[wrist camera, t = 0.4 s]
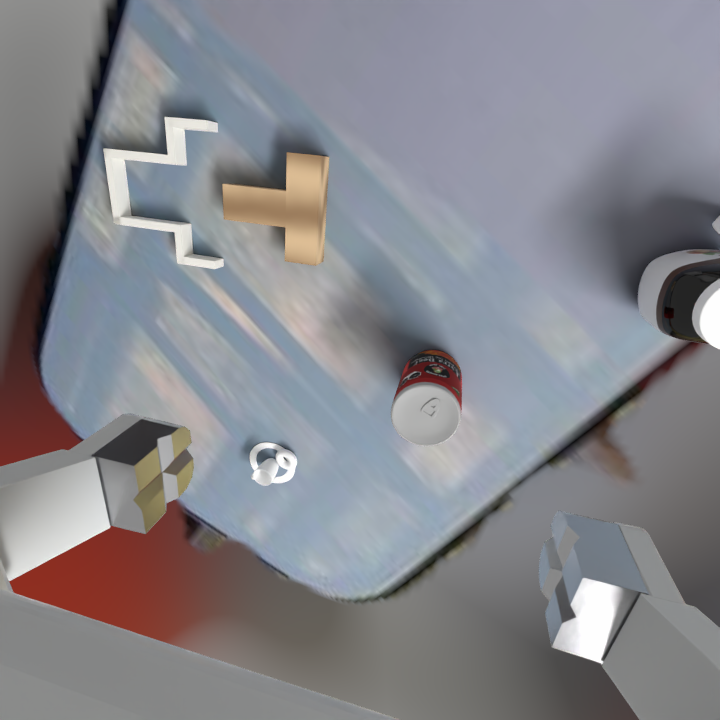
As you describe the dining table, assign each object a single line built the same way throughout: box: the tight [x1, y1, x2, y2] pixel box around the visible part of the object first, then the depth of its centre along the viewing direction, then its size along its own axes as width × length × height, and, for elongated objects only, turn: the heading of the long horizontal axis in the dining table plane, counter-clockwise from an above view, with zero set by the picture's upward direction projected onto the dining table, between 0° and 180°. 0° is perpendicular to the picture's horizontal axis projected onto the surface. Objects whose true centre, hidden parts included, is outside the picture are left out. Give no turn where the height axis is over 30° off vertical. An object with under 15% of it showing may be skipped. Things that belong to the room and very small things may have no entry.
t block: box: [222, 152, 329, 266], centre depth 50 cm, size 12×12×3 cm
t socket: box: [103, 117, 224, 269], centre depth 53 cm, size 17×14×2 cm
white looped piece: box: [250, 442, 297, 486], centre depth 66 cm, size 9×8×4 cm
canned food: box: [391, 350, 462, 446], centre depth 51 cm, size 8×8×11 cm
